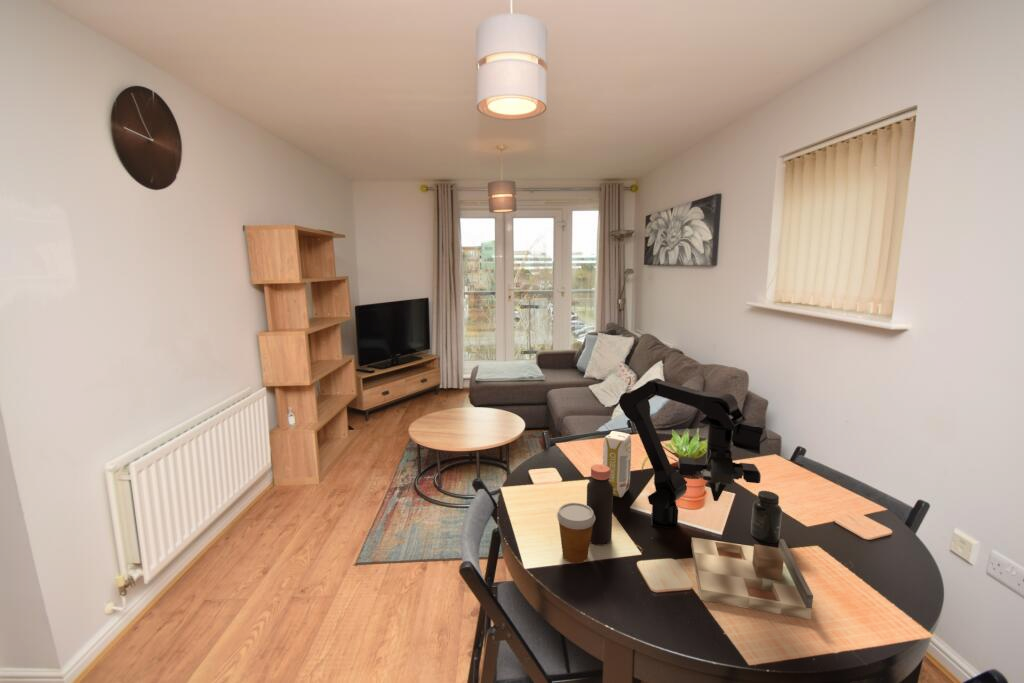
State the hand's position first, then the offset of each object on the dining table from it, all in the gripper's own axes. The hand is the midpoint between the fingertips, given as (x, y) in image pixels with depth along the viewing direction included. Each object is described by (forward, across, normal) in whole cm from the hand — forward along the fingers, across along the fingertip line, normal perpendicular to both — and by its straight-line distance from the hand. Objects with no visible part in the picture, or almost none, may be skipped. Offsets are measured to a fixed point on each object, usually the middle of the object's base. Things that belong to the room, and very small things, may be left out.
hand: (715, 500), depth 117 cm
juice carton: (+12, -26, +22) cm, 36 cm away
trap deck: (+12, +5, -13) cm, 18 cm away
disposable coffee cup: (+12, -34, -15) cm, 39 cm away
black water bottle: (+12, -29, -6) cm, 32 cm away
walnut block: (+10, +10, -13) cm, 19 cm away
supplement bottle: (+12, +14, +7) cm, 20 cm away
